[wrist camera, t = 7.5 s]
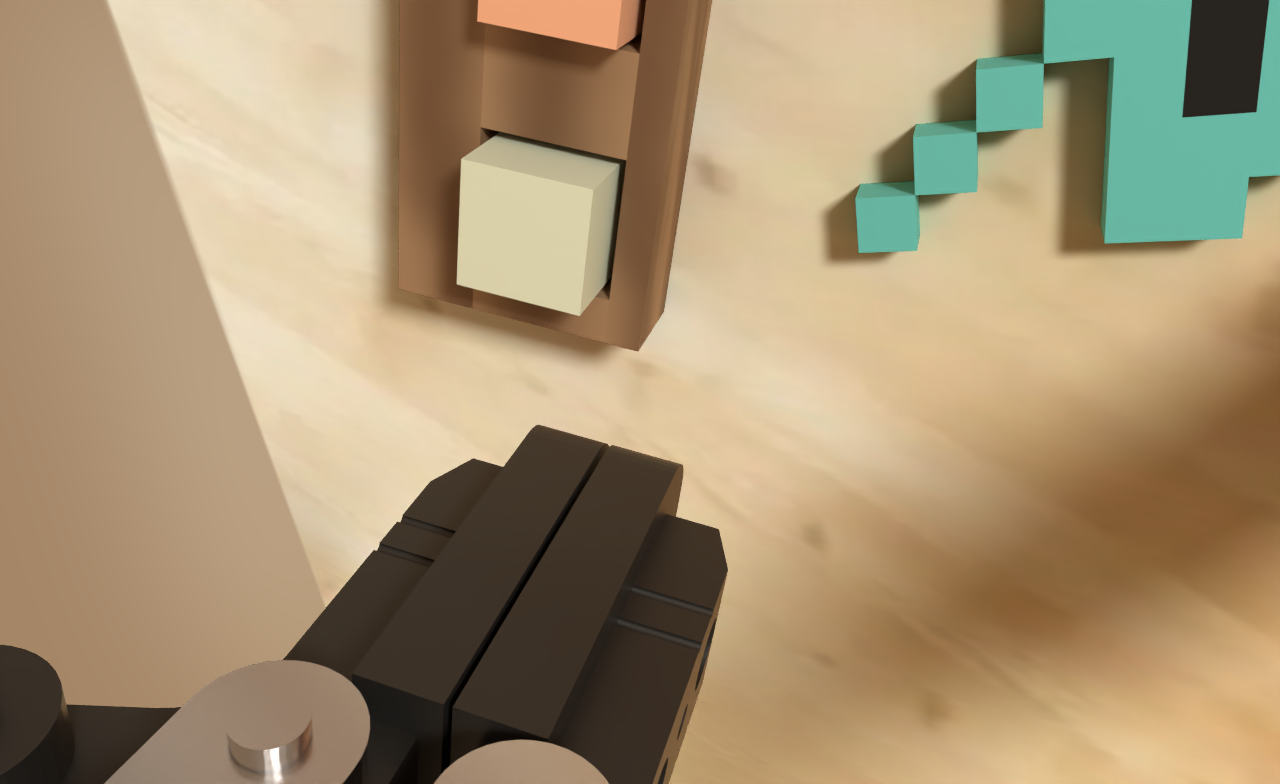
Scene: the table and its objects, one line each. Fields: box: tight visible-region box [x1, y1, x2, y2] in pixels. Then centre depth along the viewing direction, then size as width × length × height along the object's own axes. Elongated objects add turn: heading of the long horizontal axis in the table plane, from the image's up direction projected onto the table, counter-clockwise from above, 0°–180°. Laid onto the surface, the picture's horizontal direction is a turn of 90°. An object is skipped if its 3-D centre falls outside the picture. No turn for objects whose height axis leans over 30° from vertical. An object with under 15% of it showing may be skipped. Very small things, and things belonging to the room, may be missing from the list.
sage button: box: [457, 132, 626, 316], centre depth 41 cm, size 5×5×4 cm
